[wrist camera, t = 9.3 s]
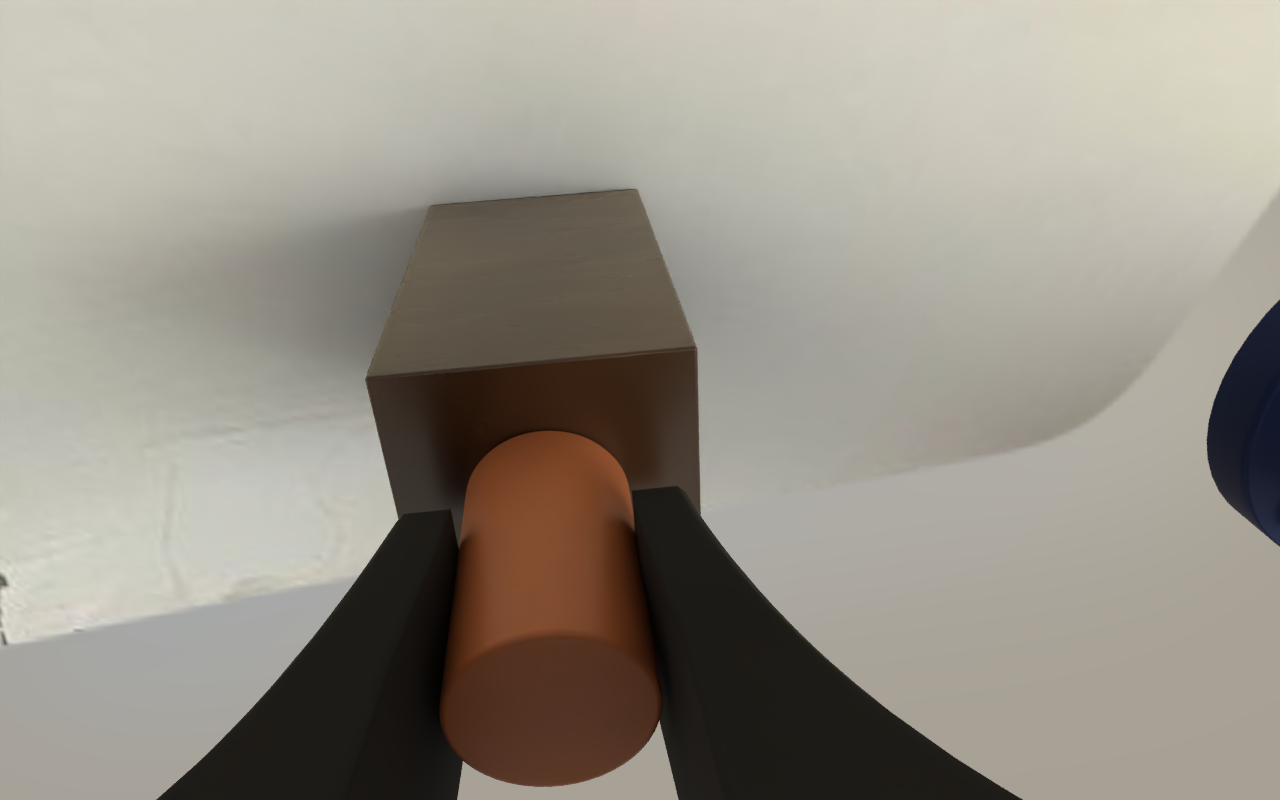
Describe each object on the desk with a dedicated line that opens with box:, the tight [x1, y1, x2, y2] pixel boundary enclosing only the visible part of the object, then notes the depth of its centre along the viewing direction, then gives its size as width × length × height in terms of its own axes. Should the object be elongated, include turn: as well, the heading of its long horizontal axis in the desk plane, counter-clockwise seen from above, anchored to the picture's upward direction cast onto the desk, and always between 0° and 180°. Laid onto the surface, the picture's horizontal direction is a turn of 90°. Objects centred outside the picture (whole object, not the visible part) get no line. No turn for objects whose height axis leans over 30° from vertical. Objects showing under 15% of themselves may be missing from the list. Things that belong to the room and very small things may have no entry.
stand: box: [365, 189, 701, 548], centre depth 16 cm, size 4×4×8 cm
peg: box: [439, 431, 663, 787], centre depth 11 cm, size 2×2×4 cm
